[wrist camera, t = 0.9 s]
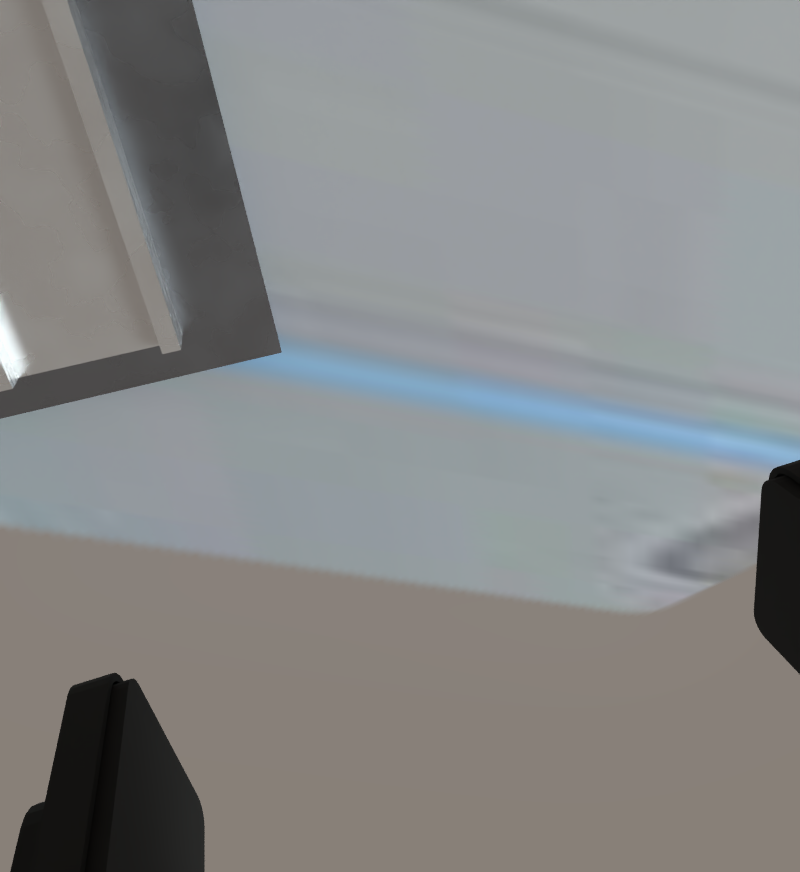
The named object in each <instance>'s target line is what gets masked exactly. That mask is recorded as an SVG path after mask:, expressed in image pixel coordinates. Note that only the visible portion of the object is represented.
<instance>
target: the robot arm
mask: <svg viewBox="0 0 800 872" xmlns="http://www.w3.org/2000/svg"><path fill="white" fill-rule="evenodd" d="M754 617H755V621H756V624H757V626H758V628H759V630H760V632H761V633H762V634H763V636H764V637H765V638H766V639H767V640H768V641H769V642H770V643H771V644H772V646H773V647H774V648H775V649H776V650H777V651H778V652H779V653H780V654H781V655H782V656H783V657H784V658H785V659H786V660H787V661H788V662H789V663H790V664H791V665H792V667H794V669H795V670H796V671H797V672H798V673H800V460H798V461H795V462H792V463H789V464H785V465H782V466H779V467H776V468H774V469H773V470H772V471H771V473H770V476H769V480H768V481H765V482H764V484H763V486H762V492H761V508H760V523H759V539H758V555H757V572H756V587H755V602H754ZM10 872H204V817H203V811H202V807H201V803H200V800H199V798H198V796H197V794H196V792H195V790H194V788H193V787H192V784H191V782H190V781H189V779H188V777H187V775H186V773H185V771H184V769H183V767H182V765H181V763H180V762H179V760H178V758H177V756H176V754H175V752H174V750H173V748H172V746H171V745H170V743H169V741H168V739H167V737H166V735H165V733H164V731H163V729H162V728H161V726H160V724H159V722H158V720H157V718H156V716H155V714H154V712H153V710H152V709H151V707H150V705H149V703H148V701H147V699H146V698H145V695H144V693H143V692H142V690H141V688H140V686H139V684H138V683H137V681H136V680H135V679H130V680H126V681H123V680H122V678H121V677H120V675H118V674H117V673H112V674H109V675H105V676H102V677H99V678H96V679H93V680H89V681H86V682H83V683H80V684H77V685H74V686H72V687H71V688H70V690H69V693H68V696H67V700H66V705H65V710H64V715H63V720H62V724H61V729H60V733H59V738H58V743H57V748H56V752H55V758H54V762H53V766H52V771H51V776H50V781H49V785H48V790H47V795H46V799H45V802H42V803H39V804H36V805H34V806H32V807H31V808H30V809H29V811H28V812H27V813H26V815H25V817H24V820H23V823H22V826H21V829H20V833H19V838H18V842H17V846H16V850H15V854H14V858H13V863H12V867H11V871H10Z"/></svg>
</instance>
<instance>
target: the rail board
mask: <svg viewBox="0 0 800 872" xmlns="http://www.w3.org/2000/svg"><path fill="white" fill-rule="evenodd" d="M277 353H281V348H280V344H279V340H278V336H277V332H276V328H275V324H274V320H273V316H272V313H271V309H270V305H269V301H268V297H267V293H266V289H265V285H264V281H263V277H262V273H261V269H260V266H259V262H258V258H257V254H256V250H255V246H254V242H253V238H252V234H251V230H250V226H249V222H248V218H247V215H246V211H245V207H244V203H243V199H242V195H241V191H240V187H239V183H238V179H237V175H236V171H235V167H234V164H233V160H232V156H231V152H230V148H229V144H228V140H227V136H226V132H225V128H224V124H223V120H222V116H221V113H220V109H219V105H218V101H217V97H216V93H215V89H214V85H213V81H212V77H211V73H210V69H209V65H208V62H207V58H206V54H205V50H204V46H203V42H202V38H201V34H200V30H199V26H198V22H197V18H196V14H195V11H194V7H193V3H192V0H0V418H5V417H9V416H13V415H17V414H22V413H26V412H30V411H34V410H39V409H43V408H47V407H51V406H56V405H60V404H64V403H68V402H73V401H77V400H81V399H85V398H90V397H94V396H98V395H102V394H107V393H111V392H115V391H119V390H124V389H128V388H132V387H136V386H141V385H145V384H149V383H153V382H158V381H162V380H166V379H170V378H175V377H179V376H183V375H187V374H192V373H196V372H200V371H204V370H209V369H213V368H217V367H222V366H226V365H230V364H234V363H239V362H243V361H247V360H251V359H256V358H260V357H264V356H268V355H273V354H277Z"/></svg>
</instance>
